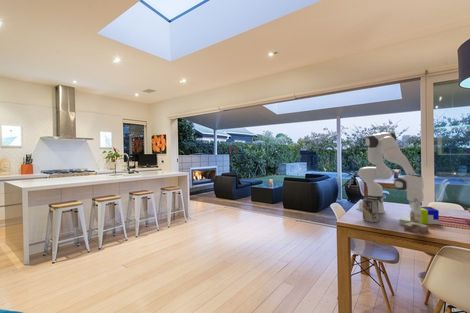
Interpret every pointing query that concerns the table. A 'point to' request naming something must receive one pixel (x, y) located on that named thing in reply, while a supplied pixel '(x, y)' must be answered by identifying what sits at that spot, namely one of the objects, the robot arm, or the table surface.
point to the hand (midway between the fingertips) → (415, 217)
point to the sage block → (404, 220)
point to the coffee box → (370, 210)
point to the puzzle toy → (429, 215)
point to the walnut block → (415, 227)
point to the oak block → (413, 217)
